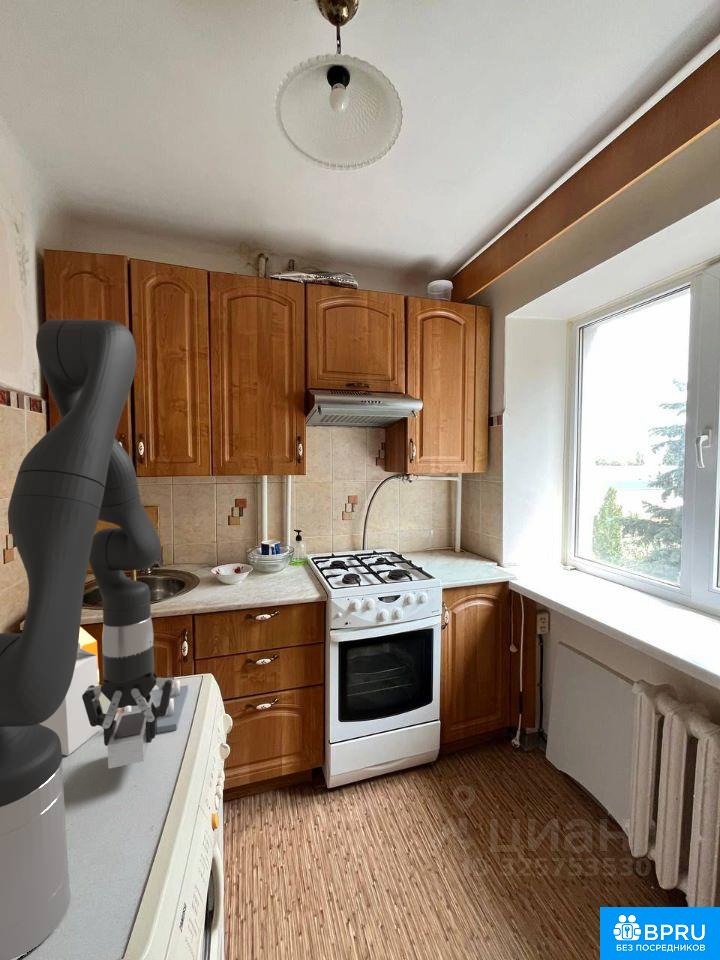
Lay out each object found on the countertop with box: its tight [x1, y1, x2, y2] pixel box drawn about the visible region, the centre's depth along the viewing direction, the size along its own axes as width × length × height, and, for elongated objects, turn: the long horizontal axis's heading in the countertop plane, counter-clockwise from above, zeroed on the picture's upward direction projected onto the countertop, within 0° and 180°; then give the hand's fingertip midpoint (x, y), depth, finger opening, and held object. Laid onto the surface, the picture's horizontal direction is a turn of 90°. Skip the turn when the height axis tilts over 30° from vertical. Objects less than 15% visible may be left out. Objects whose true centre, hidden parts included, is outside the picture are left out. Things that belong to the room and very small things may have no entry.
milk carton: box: [39, 643, 102, 756], centre depth 77 cm, size 7×7×19 cm
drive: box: [107, 710, 149, 769], centre depth 71 cm, size 9×5×4 cm, turn 19°
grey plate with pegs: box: [123, 679, 189, 734], centre depth 85 cm, size 14×11×4 cm
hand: (131, 742), depth 71 cm, fingers closed on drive, 5 cm apart
